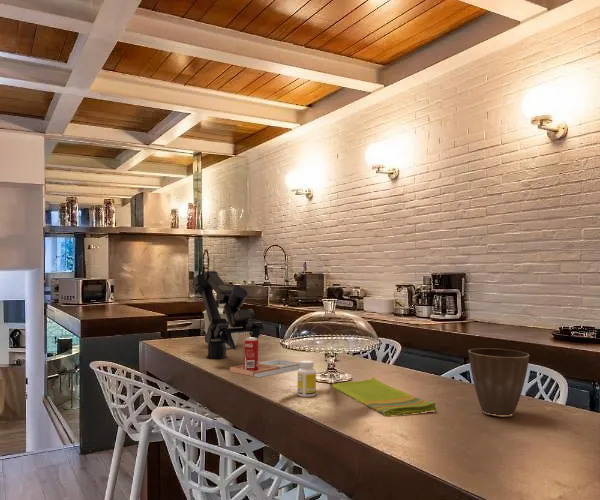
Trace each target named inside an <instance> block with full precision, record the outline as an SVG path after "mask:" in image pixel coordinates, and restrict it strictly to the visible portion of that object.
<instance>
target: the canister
mask: <svg viewBox="0 0 600 500" xmlns="http://www.w3.org/2000/svg"><path fill="white" fill-rule="evenodd" d="M224 305H225V304H219V303H218V311H219V314H220V317H221V318H222V319H224V318H225V319H226V320H227V321H228V319H227V317H226V314H223V310H224ZM202 314H203V317H204V329H205V330H204V331H205V334H206V333H207V331H208V326H209V324H210V322H209V319H208V315H207V312H206V309H205V310H204V311H202ZM229 327H230V325H229ZM231 336H232V339H233V341H234V344H235V347H236V345H237V343H238V340H239V339H238V338H239V333H231ZM211 340H212V339H211ZM217 340H219V339H217ZM206 344H207V345H208V343H206ZM225 346H226V350H227V349H232V348H231V347H230V346H229V345H227V344H226V343H225Z"/></svg>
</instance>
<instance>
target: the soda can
mask: <svg viewBox="0 0 600 500" xmlns="http://www.w3.org/2000/svg"><path fill="white" fill-rule="evenodd" d="M257 339H258V340H257ZM258 362H259V337H258V338H255V337H251V336H250V337H244V340H243V362H242V363H243V364H242V365H243V369H246V370H251V371H256V370H259V369H258Z"/></svg>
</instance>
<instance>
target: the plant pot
mask: <svg viewBox="0 0 600 500" xmlns="http://www.w3.org/2000/svg"><path fill="white" fill-rule="evenodd" d="M468 357H469V366H470V371H471V375H472V381H473V384H474V385H473V386H474V389H475V393H476V396H477V398H478V399H477V400H478V402H479V406H480V408H481V411H482V412H483V411H484V412H486V413H490V414H496V415H510V414H513V413H514V414H515V412H516V410H517V409H516V408H517V407H518V405H519V404H518V403H519V401H520V398H521V396H522V393H523V392H522V391H523V388H524V384H525V382H526V381H525V380H526V376H527V372H528V366H529V361H530V354H529V353H527V352H524V351H519V350H513V349H504V348H492V347H491V348H490V347H489V348H488V347H487V348H485V347H484V348H483V347H481V348H471V349H468ZM514 414H513V415H514Z"/></svg>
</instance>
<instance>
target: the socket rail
mask: <svg viewBox="0 0 600 500" xmlns="http://www.w3.org/2000/svg"><path fill="white" fill-rule="evenodd" d="M300 368H301V367H300V361H299V362H298V361H294V360H293V361H292V360H287V359H280V358H277V359H272V360H264V361H258V370H256V371H251V370H246V369H243V364H242V365H241V364H240V365H235V366H230V367H229V372H230V373H236V374H242V375H245V376H250V377H255V378H260V377H266V376H271V375H272V376H273V375H276V374H283V373H287V372H292V371H296V370H297V371H298V370H299V369H300Z"/></svg>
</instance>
